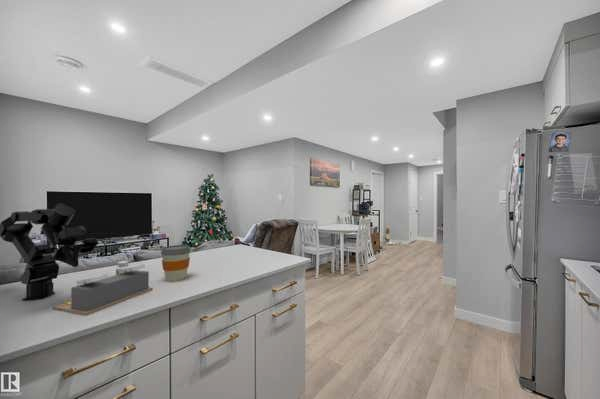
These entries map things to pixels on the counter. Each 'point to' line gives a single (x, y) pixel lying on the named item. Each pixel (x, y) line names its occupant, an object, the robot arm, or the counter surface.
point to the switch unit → (106, 292)
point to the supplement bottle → (122, 266)
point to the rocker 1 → (92, 279)
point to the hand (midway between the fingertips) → (76, 266)
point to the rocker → (131, 268)
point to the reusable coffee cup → (175, 262)
